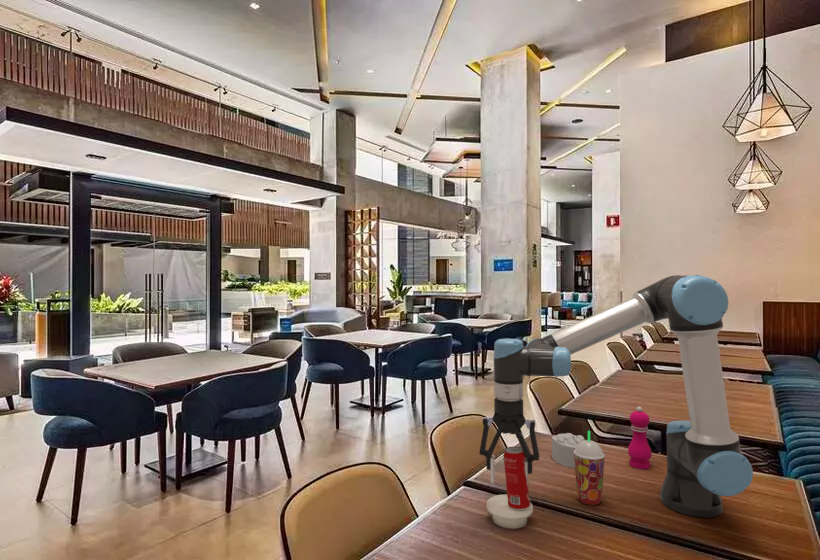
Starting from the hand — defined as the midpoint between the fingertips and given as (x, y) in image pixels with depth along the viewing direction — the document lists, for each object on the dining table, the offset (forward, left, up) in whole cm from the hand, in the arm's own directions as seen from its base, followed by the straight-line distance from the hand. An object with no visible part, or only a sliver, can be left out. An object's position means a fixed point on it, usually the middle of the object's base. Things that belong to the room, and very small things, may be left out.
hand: (509, 483), depth 128 cm
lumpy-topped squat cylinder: (-17, -46, -10) cm, 50 cm away
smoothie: (-21, -17, -10) cm, 29 cm away
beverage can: (-2, 0, -6) cm, 6 cm away
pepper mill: (-39, -48, -10) cm, 63 cm away
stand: (0, 0, -10) cm, 10 cm away
